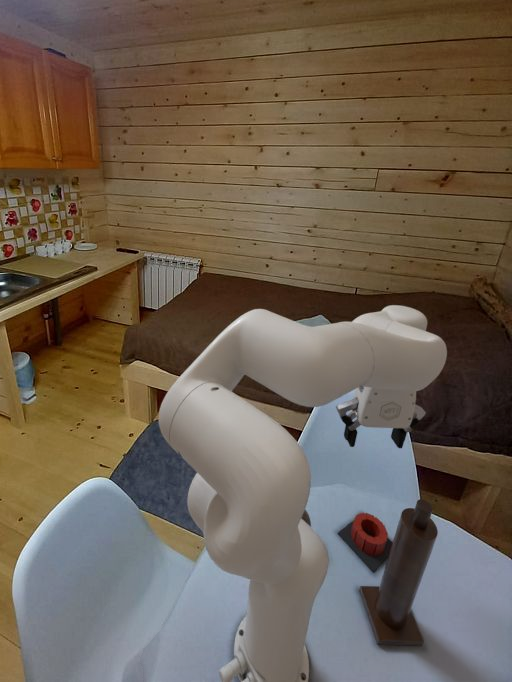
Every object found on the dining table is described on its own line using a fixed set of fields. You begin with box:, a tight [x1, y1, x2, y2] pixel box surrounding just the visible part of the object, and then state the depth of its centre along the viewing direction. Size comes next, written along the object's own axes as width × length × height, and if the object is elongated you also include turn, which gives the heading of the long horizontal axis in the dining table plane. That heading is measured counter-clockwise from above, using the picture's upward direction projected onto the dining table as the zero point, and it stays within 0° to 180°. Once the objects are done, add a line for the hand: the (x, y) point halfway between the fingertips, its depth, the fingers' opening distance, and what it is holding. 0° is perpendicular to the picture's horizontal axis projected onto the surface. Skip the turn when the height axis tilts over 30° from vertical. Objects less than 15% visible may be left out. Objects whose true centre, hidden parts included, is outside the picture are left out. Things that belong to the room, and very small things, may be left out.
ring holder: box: [358, 498, 439, 646], centre depth 59 cm, size 8×8×29 cm
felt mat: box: [337, 519, 393, 573], centre depth 77 cm, size 9×9×1 cm
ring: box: [351, 512, 389, 556], centre depth 76 cm, size 7×7×4 cm
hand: (372, 442), depth 70 cm, fingers open, 9 cm apart
